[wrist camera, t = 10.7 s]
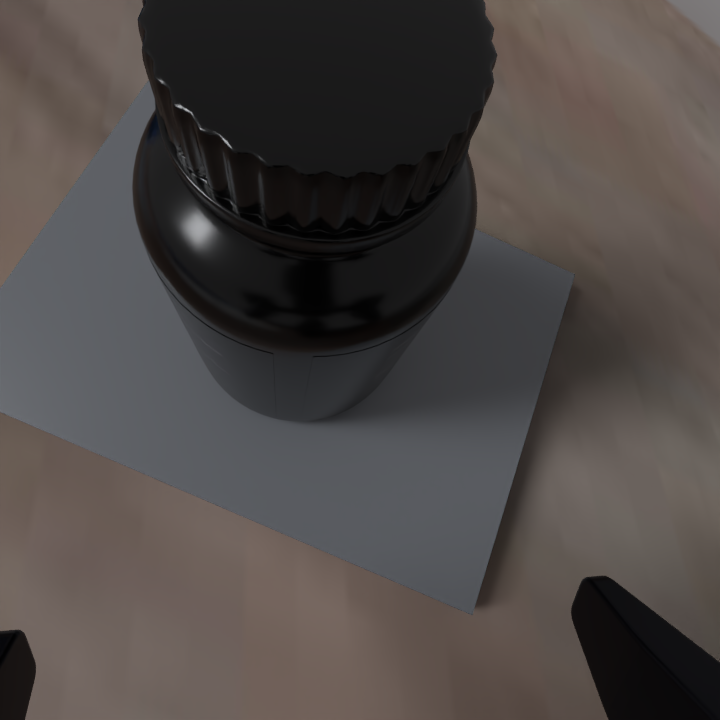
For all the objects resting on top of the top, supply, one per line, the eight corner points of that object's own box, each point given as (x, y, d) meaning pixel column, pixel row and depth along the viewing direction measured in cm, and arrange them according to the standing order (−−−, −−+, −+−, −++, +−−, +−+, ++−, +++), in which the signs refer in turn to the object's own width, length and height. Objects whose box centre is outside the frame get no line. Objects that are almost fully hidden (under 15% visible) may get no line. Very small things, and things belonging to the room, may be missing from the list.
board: (559, 286, 22) (575, 274, 21) (459, 608, 18) (472, 615, 17) (155, 103, 21) (148, 80, 20) (-45, 391, 17) (-68, 383, 16)
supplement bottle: (343, 214, 20) (437, -192, 8) (428, 375, 19) (672, 154, 7) (163, 278, 18) (-26, -125, 7) (243, 461, 17) (179, 349, 5)
